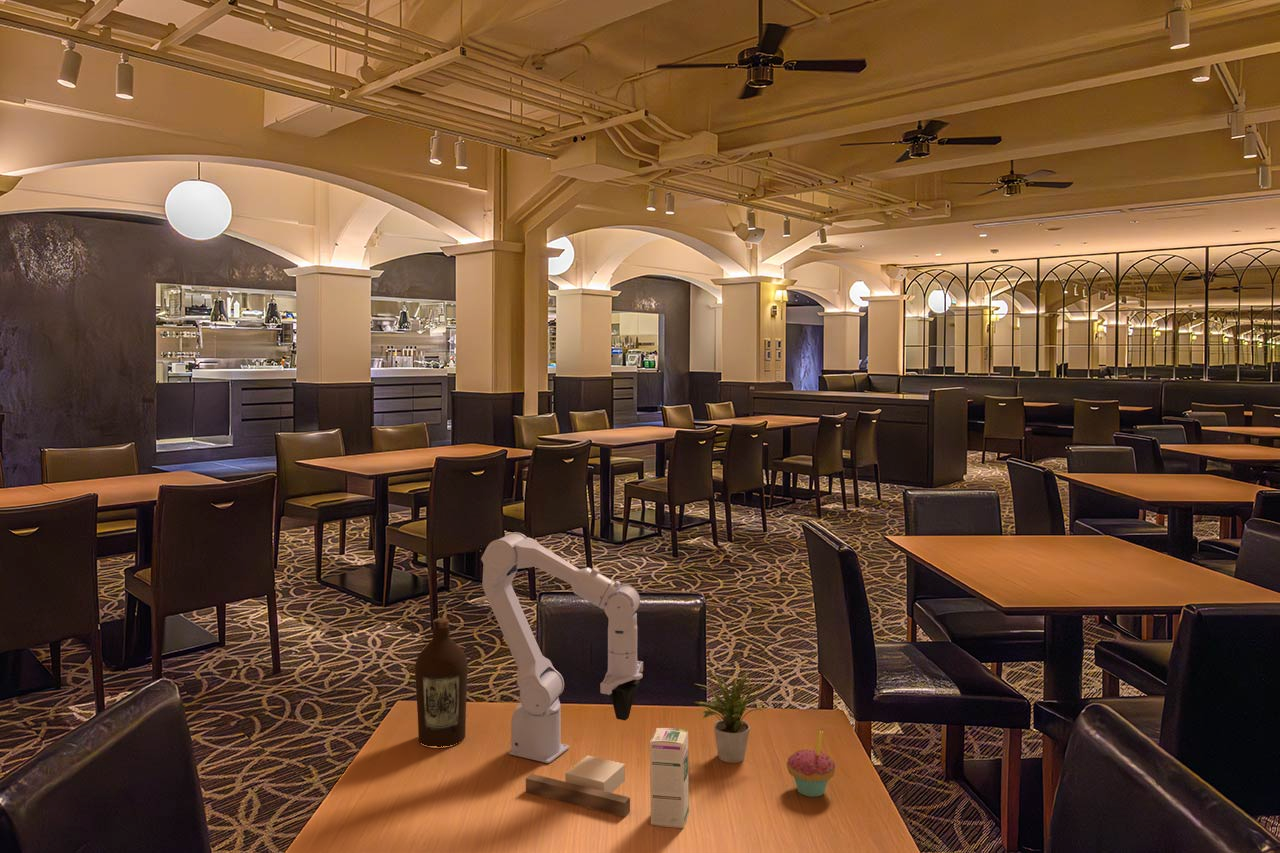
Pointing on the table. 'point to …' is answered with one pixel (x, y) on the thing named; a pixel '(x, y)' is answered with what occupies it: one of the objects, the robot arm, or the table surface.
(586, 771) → the wooden block
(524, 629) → the robot arm
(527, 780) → the stop rail
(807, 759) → the cupcake
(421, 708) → the olive oil
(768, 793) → the table surface
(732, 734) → the house plant
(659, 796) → the syrup box
